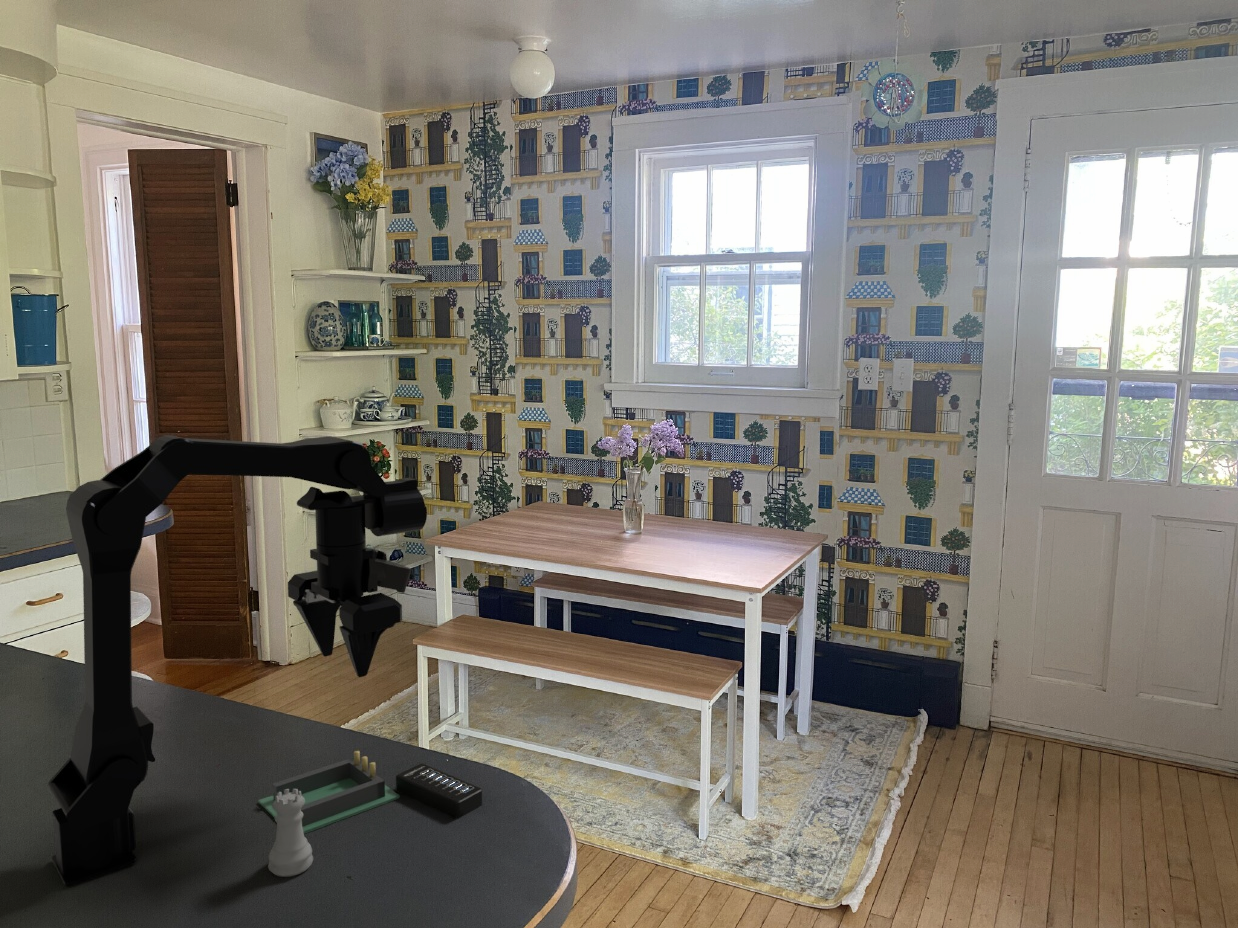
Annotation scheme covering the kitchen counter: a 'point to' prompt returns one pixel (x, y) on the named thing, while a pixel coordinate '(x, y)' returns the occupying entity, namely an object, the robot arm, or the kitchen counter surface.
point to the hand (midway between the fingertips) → (344, 665)
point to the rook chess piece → (289, 836)
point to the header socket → (335, 792)
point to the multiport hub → (439, 790)
